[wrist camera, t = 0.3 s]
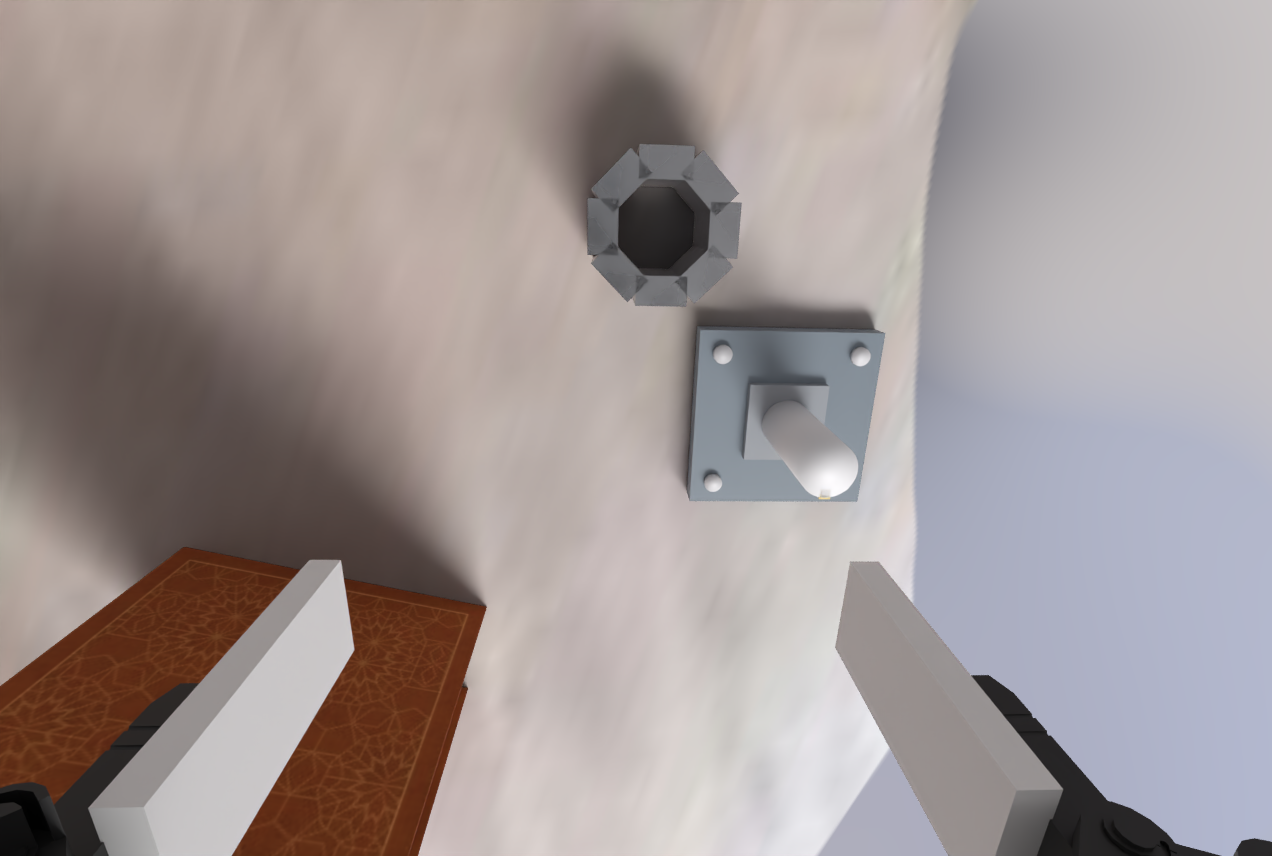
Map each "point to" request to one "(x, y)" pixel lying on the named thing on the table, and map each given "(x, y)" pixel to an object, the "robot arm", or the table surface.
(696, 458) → the shaft block
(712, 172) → the hub
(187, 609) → the book
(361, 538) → the table surface
